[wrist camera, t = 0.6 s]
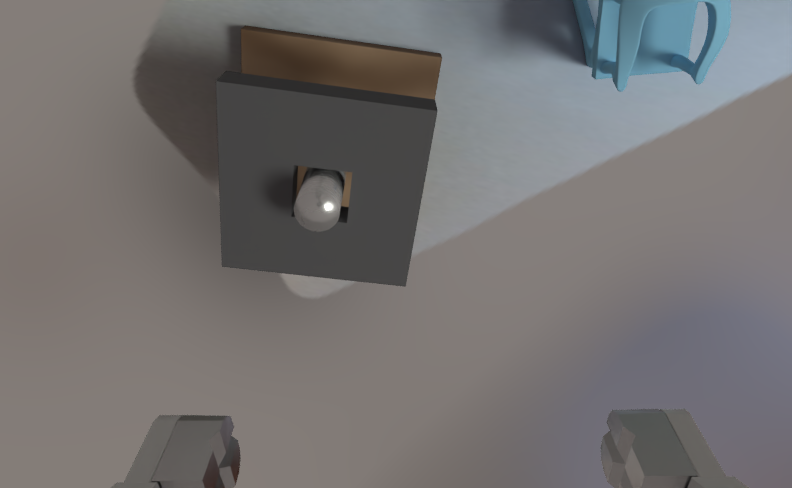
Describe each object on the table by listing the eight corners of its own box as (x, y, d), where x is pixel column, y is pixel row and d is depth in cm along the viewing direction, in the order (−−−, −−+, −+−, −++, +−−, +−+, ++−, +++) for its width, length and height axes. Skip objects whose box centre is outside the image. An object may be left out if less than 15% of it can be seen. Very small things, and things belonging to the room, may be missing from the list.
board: (245, 25, 44) (241, 29, 43) (440, 53, 45) (442, 57, 44) (246, 201, 52) (242, 208, 51) (411, 220, 53) (411, 228, 52)
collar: (226, 71, 36) (215, 81, 34) (434, 99, 37) (437, 110, 35) (230, 249, 43) (222, 266, 41) (404, 268, 44) (405, 286, 42)
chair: (559, 69, 46) (607, 115, 36) (566, -41, 42) (623, -25, 31) (652, 60, 46) (727, 104, 35) (669, -52, 41) (760, -39, 31)
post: (317, 118, 46) (293, 187, 35) (354, 123, 47) (343, 193, 35) (315, 153, 48) (291, 230, 37) (351, 158, 48) (339, 235, 37)
